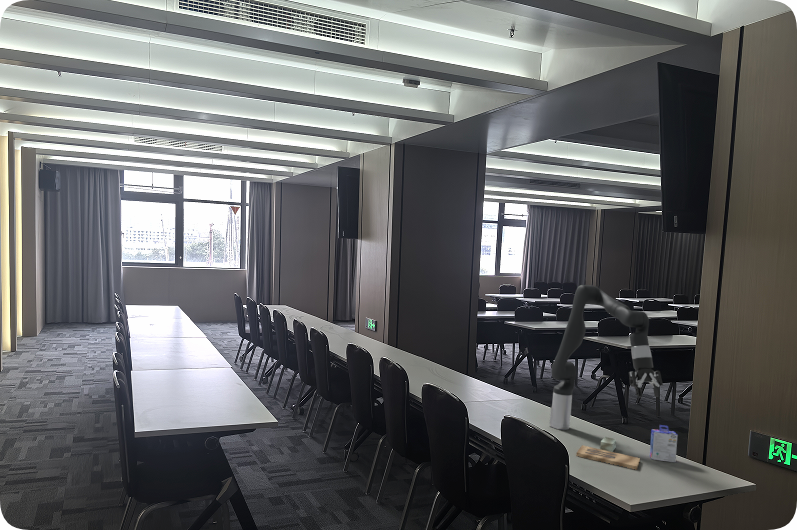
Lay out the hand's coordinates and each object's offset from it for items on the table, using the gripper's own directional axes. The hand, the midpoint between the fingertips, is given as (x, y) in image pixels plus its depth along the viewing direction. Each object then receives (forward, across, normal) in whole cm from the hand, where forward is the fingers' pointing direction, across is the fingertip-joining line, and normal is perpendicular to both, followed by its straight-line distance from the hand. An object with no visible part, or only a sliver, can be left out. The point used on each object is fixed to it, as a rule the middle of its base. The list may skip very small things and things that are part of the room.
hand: (648, 397), depth 227 cm
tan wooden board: (+24, +9, -20) cm, 33 cm away
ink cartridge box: (+26, -17, -18) cm, 36 cm away
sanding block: (+21, +1, -30) cm, 37 cm away
